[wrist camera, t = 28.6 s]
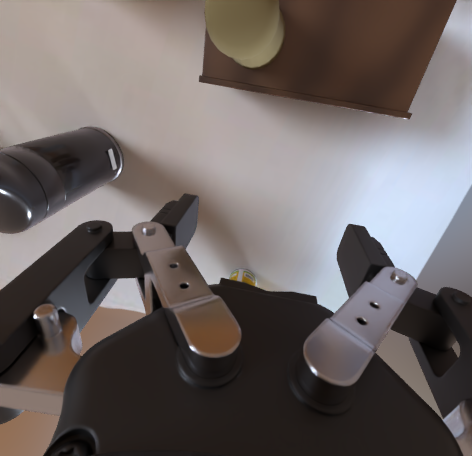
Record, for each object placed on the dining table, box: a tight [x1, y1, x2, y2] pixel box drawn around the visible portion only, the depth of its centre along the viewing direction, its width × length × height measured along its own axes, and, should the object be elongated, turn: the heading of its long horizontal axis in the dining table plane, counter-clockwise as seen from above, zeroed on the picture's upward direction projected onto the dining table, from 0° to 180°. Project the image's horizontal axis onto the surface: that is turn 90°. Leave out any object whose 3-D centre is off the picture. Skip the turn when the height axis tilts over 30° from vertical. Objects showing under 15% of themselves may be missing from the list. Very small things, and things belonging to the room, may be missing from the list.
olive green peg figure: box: [204, 0, 285, 70], centre depth 22 cm, size 6×6×11 cm
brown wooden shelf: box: [199, 0, 456, 120], centre depth 30 cm, size 22×10×11 cm, turn 82°
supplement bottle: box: [229, 269, 256, 286], centre depth 51 cm, size 5×5×10 cm
